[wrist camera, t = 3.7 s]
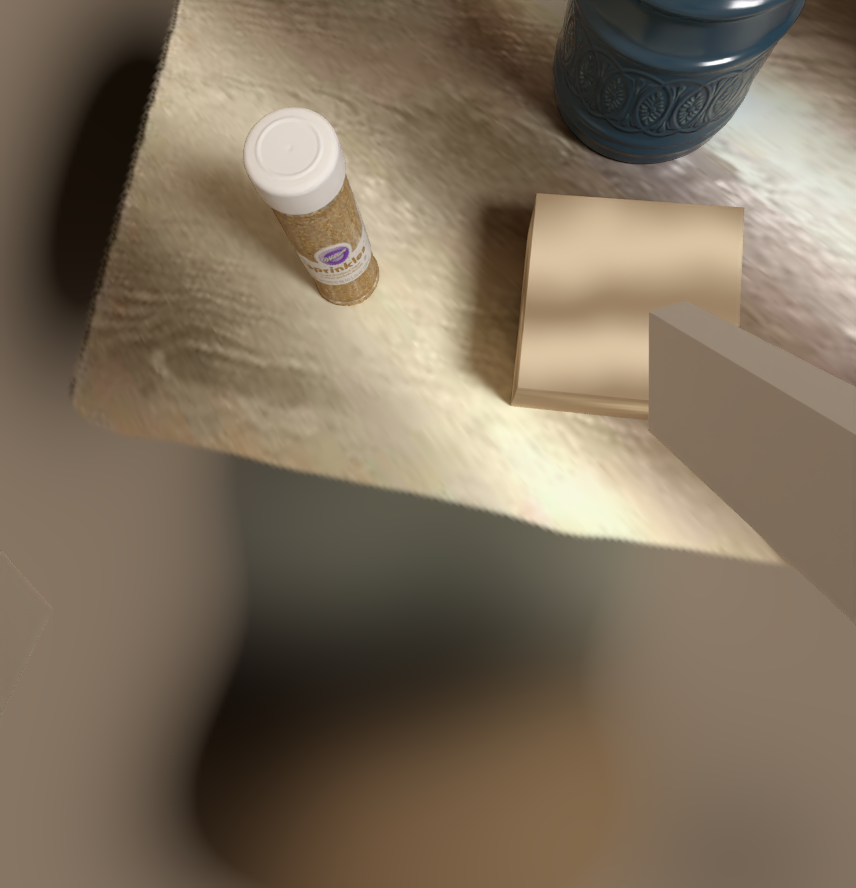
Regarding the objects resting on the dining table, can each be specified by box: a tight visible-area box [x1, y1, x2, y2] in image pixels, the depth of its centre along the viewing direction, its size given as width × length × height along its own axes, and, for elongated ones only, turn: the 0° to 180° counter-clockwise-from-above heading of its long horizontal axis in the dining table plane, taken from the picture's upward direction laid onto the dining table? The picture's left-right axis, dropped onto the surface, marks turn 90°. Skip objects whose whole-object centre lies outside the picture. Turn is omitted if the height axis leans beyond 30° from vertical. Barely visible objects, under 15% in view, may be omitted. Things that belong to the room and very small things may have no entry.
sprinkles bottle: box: [243, 107, 379, 306], centre depth 32 cm, size 5×5×13 cm
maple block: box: [511, 193, 744, 420], centre depth 35 cm, size 12×12×5 cm
